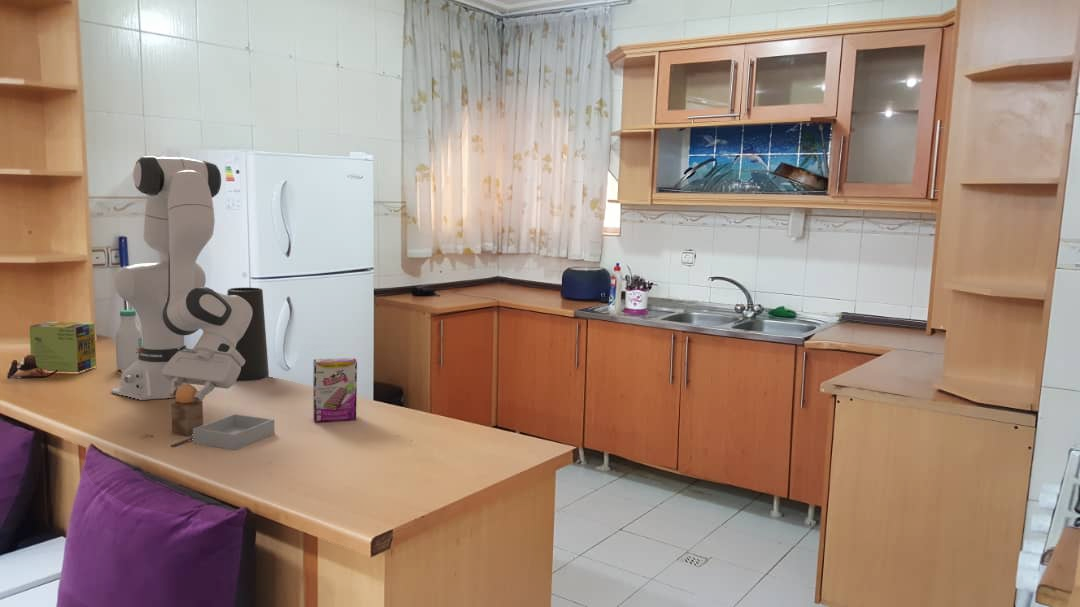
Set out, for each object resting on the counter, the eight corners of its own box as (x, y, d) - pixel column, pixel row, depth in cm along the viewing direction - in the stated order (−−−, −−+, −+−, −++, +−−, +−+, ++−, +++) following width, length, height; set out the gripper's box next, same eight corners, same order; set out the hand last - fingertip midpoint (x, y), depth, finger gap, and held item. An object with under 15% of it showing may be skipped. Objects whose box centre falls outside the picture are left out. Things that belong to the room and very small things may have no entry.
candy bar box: (314, 423, 200) (313, 362, 198) (312, 418, 204) (312, 358, 202) (357, 420, 204) (357, 360, 202) (355, 415, 208) (355, 357, 206)
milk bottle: (135, 372, 250) (132, 312, 247) (111, 371, 250) (109, 311, 247) (147, 367, 257) (145, 309, 255) (125, 366, 257) (122, 308, 255)
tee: (172, 433, 187) (171, 403, 186) (187, 428, 192) (186, 398, 191) (188, 436, 186) (187, 405, 185) (203, 430, 190) (202, 400, 189)
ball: (171, 405, 186) (170, 386, 186) (186, 401, 191) (186, 381, 190) (187, 408, 185) (186, 388, 184) (202, 403, 189) (202, 383, 189)
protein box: (78, 374, 244) (76, 327, 242) (30, 373, 244) (28, 325, 242) (97, 367, 255) (95, 322, 253) (51, 366, 255) (49, 320, 253)
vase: (247, 370, 258) (245, 285, 255) (277, 374, 253) (276, 288, 249) (214, 377, 246) (212, 289, 242) (246, 383, 240) (244, 292, 237)
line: (170, 446, 178) (170, 445, 178) (236, 422, 199) (236, 420, 199) (174, 446, 178) (174, 445, 178) (239, 422, 198) (239, 421, 198)
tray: (193, 443, 181) (192, 428, 180) (234, 427, 194) (234, 413, 194) (234, 449, 177) (234, 435, 176) (274, 433, 190) (274, 419, 190)
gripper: (173, 341, 196) (144, 386, 188) (238, 348, 189) (210, 395, 181) (187, 354, 201) (159, 399, 193) (251, 362, 194) (224, 408, 186)
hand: (184, 397), depth 187 cm, fingers open, 6 cm apart
